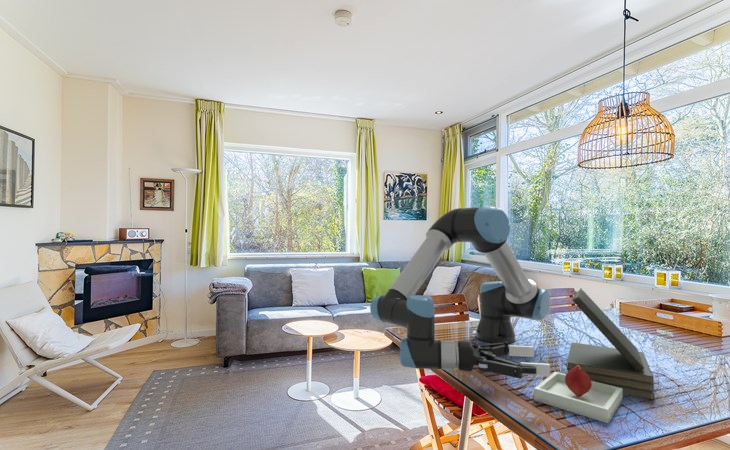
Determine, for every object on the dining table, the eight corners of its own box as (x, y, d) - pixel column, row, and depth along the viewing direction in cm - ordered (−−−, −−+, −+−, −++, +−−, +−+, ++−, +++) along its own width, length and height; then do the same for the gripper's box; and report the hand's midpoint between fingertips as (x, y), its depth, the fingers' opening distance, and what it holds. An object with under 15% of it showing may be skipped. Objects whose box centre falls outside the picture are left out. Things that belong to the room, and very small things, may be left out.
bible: (654, 401, 92) (651, 303, 93) (566, 383, 103) (565, 296, 103) (644, 372, 111) (642, 291, 112) (571, 360, 122) (570, 286, 123)
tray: (534, 400, 92) (534, 388, 92) (555, 382, 103) (555, 371, 103) (608, 423, 80) (608, 409, 81) (622, 400, 92) (622, 388, 92)
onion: (560, 391, 94) (559, 361, 95) (581, 390, 95) (580, 360, 95) (575, 401, 89) (574, 369, 89) (597, 401, 89) (596, 368, 89)
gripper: (454, 354, 109) (528, 358, 106) (461, 389, 85) (558, 396, 81) (453, 329, 110) (527, 332, 106) (461, 357, 85) (557, 362, 81)
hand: (541, 360), depth 94 cm, fingers open, 13 cm apart
